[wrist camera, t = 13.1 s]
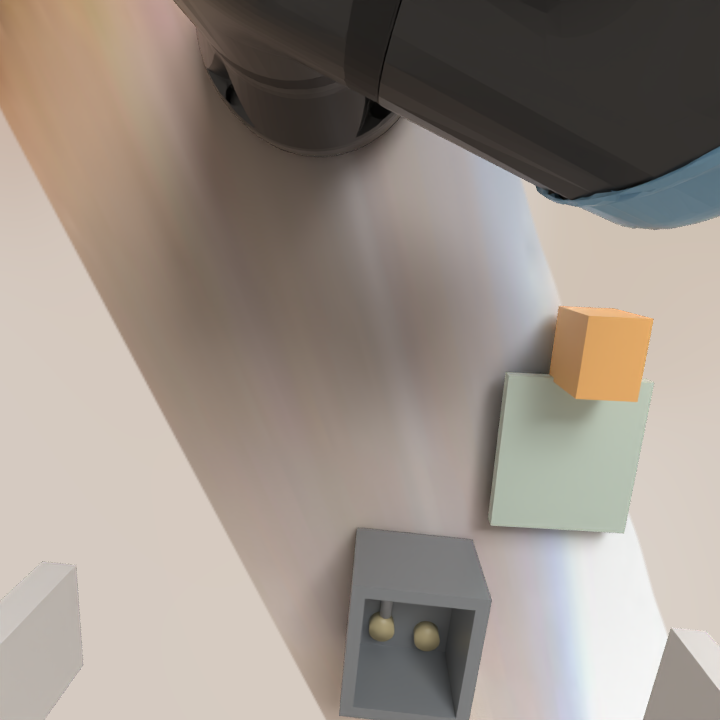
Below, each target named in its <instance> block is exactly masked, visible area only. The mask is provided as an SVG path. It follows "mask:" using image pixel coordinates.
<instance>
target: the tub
mask: <svg viewBox="0 0 720 720" xmlns="http://www.w3.org/2000/svg"><path fill="white" fill-rule="evenodd" d="M491 602H492V599H491V596H490V593H489V590H488V587H487V584H486V581H485V577H484V574H483V571H482V568H481V565H480V562H479V559H478V555H477V552H476V549H475V546H474V543H473V540H470V539H460V538H451V537H441V536H432V535H422V534H413V533H403V532H394V531H384V530H375V529H365V528H357V533H356V543H355V553H354V563H353V573H352V582H351V592H350V602H349V612H348V622H347V631H346V641H345V653H344V664H343V676H342V688H341V699H340V711H339V716H346V717H355V718H364V719H373V720H469V717H470V712H471V707H472V702H473V696H474V691H475V686H476V681H477V675H478V670H479V665H480V660H481V654H482V649H483V644H484V639H485V633H486V628H487V623H488V618H489V612H490V607H491Z"/></svg>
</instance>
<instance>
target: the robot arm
mask: <svg viewBox="0 0 720 720" xmlns="http://www.w3.org/2000/svg"><path fill="white" fill-rule="evenodd" d="M173 1H174V2H175V3H176V4H177V5H178V7H179V8H180V9H181V10H182V11H183V12H184V14H185V15H186V16H187V17H188V18H189V19H190V21H191V22H192V23H193V24H194V25H195V26H196V31H197V37H198V43H199V47H200V51H201V55H202V58H203V61H204V64H205V67H206V69H207V72H208V74H209V76H210V79H211V80H212V82H213V84H214V86H215V88H216V90H217V91H218V93H219V95H220V96H221V98H222V99H223V101H224V102H225V104H226V105H227V106H228V107H229V109H230V110H231V111H232V112H233V113H234V114H235V115H236V116H237V118H238V119H239V120H241V121H242V122H243V123H244V124H245V125H246V126H247V127H248V128H249V129H250V130H251V131H253V132H254V133H255V134H256V135H258V136H259V137H260V138H262V139H263V140H265V141H266V142H268V143H270V144H272V145H274V146H276V147H278V148H280V149H282V150H285V151H288V152H291V153H294V154H299V155H304V156H314V157H324V156H334V155H339V154H344V153H347V152H351V151H353V150H356V149H358V148H361V147H363V146H365V145H367V144H368V143H370V142H372V141H373V140H375V139H376V138H378V137H379V136H381V135H382V134H383V133H384V132H386V131H387V130H388V129H389V128H390V127H391V126H392V125H393V124H394V123H395V122H396V121H397V120H398V119H399V117H400V116H401V117H403V118H405V119H407V120H409V121H411V122H413V123H415V124H417V125H419V126H421V127H423V128H425V129H427V130H429V131H431V132H432V133H434V134H436V135H438V136H440V137H442V138H444V139H446V140H448V141H450V142H452V143H454V144H456V145H458V146H460V147H462V148H464V149H466V150H468V151H469V152H471V153H473V154H475V155H477V156H479V157H481V158H483V159H485V160H487V161H489V162H491V163H493V164H495V165H497V166H499V167H501V168H503V169H504V170H506V171H508V172H510V173H512V174H514V175H516V176H518V177H520V178H522V179H524V180H526V181H528V182H530V183H532V184H534V185H536V188H537V191H538V192H539V193H540V194H542V195H543V196H545V197H546V198H548V199H550V200H552V201H554V202H556V203H560V204H567V205H571V206H575V207H576V206H577V207H580V208H582V209H585V210H587V211H589V212H591V213H593V214H596V215H598V216H600V217H602V218H604V219H607V220H609V221H611V222H613V223H615V224H618V225H621V226H624V227H630V228H643V229H653V230H657V229H672V228H677V227H682V226H686V225H691V224H696V223H700V222H703V221H706V220H710V219H713V218H715V217H718V216H720V0H173ZM76 571H77V570H76V565H72V564H61V563H53V562H41V563H40V564H39V565H38V566H37V567H36V568H35V569H34V570H33V571H31V572H30V573H29V574H28V575H27V576H26V577H25V578H24V579H23V580H22V581H21V582H20V583H19V584H18V585H16V586H15V587H14V588H13V589H12V590H11V591H10V592H9V593H8V594H7V595H6V596H5V597H4V598H3V599H1V601H0V720H45V718H46V717H47V715H48V714H49V713H50V711H51V710H52V708H53V707H54V706H55V704H56V703H57V701H58V700H59V698H60V697H61V696H62V694H63V693H64V691H65V690H66V689H67V687H68V686H69V684H70V683H71V681H72V680H73V679H74V677H75V676H76V675H77V673H78V672H79V670H80V669H81V667H82V666H83V655H82V641H81V626H80V612H79V599H78V584H77V572H76ZM643 720H720V646H719V645H718V644H717V643H716V641H715V640H714V639H713V638H712V637H711V636H710V634H709V633H708V632H707V631H701V630H691V629H682V628H671V629H670V633H669V636H668V639H667V642H666V646H665V649H664V652H663V656H662V659H661V662H660V666H659V669H658V672H657V675H656V679H655V682H654V685H653V689H652V692H651V695H650V698H649V702H648V705H647V708H646V712H645V715H644V718H643Z"/></svg>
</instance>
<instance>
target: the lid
mask: <svg viewBox="0 0 720 720" xmlns="http://www.w3.org/2000/svg"><path fill="white" fill-rule="evenodd" d="M652 324H653V319H652V318H648V317H645V316H640V315H637V314H632V313H629V312H625V311H621V310H618V309H613V308H591V307H568V306H559V309H558V316H557V323H556V330H555V337H554V343H553V350H552V357H551V364H550V371H549V374H534V373H514V372H505V380H504V388H503V397H502V405H501V413H500V422H499V430H498V438H497V447H496V455H495V463H494V472H493V480H492V488H491V497H490V505H489V513H488V520H489V522H490V525H491V526H508V527H524V528H541V529H558V530H575V531H592V532H609V533H624V530H625V525H626V520H627V515H628V511H629V506H630V501H631V496H632V491H633V486H634V481H635V476H636V471H637V466H638V461H639V456H640V451H641V446H642V441H643V436H644V431H645V426H646V421H647V416H648V411H649V406H650V401H651V396H652V391H653V386H654V382H652V381H650V380H648V379H642V376H643V371H644V366H645V361H646V355H647V350H648V345H649V340H650V335H651V330H652Z"/></svg>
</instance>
